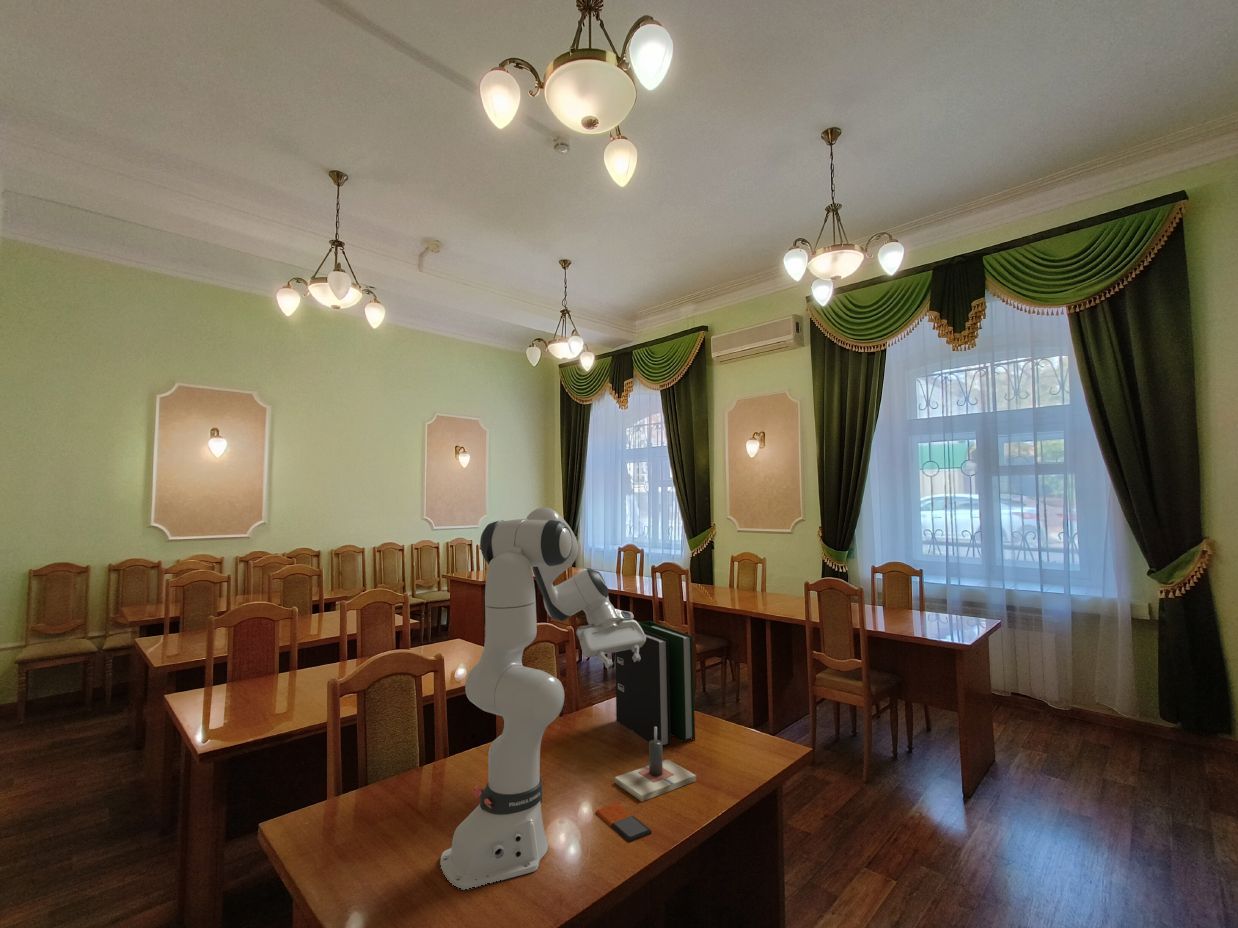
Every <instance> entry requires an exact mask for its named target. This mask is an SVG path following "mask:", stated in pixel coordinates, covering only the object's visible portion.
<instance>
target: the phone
mask: <svg viewBox="0 0 1238 928" xmlns="http://www.w3.org/2000/svg"><path fill="white" fill-rule="evenodd" d="M595 815H596V816H598V817H599V818H600V819H601V820H602V821H603V822H605V823H606V824H607V826H609V827H610V828H611V829H612V830H614V832H616V833H617V834H618V835H619V836H620V837H622V838H623V840H625V841H626V842H627V843H632V842H636V841H638V840H640V839H643V838H645V837H647V836H651V835H652V833H653V831H652V830H651V829H650V828H649V827H647V825H645V824H644V823H642V822H641V821H640V820H639V819H637V817H635V816H634V815H633V814H631V813H630V812H629V811H627V809H625V808H624V807H623V806H622V805H620V804H619V803H613V804H611V805H608V806H604V807H601V808H599V809H597V810H595Z"/></svg>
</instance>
